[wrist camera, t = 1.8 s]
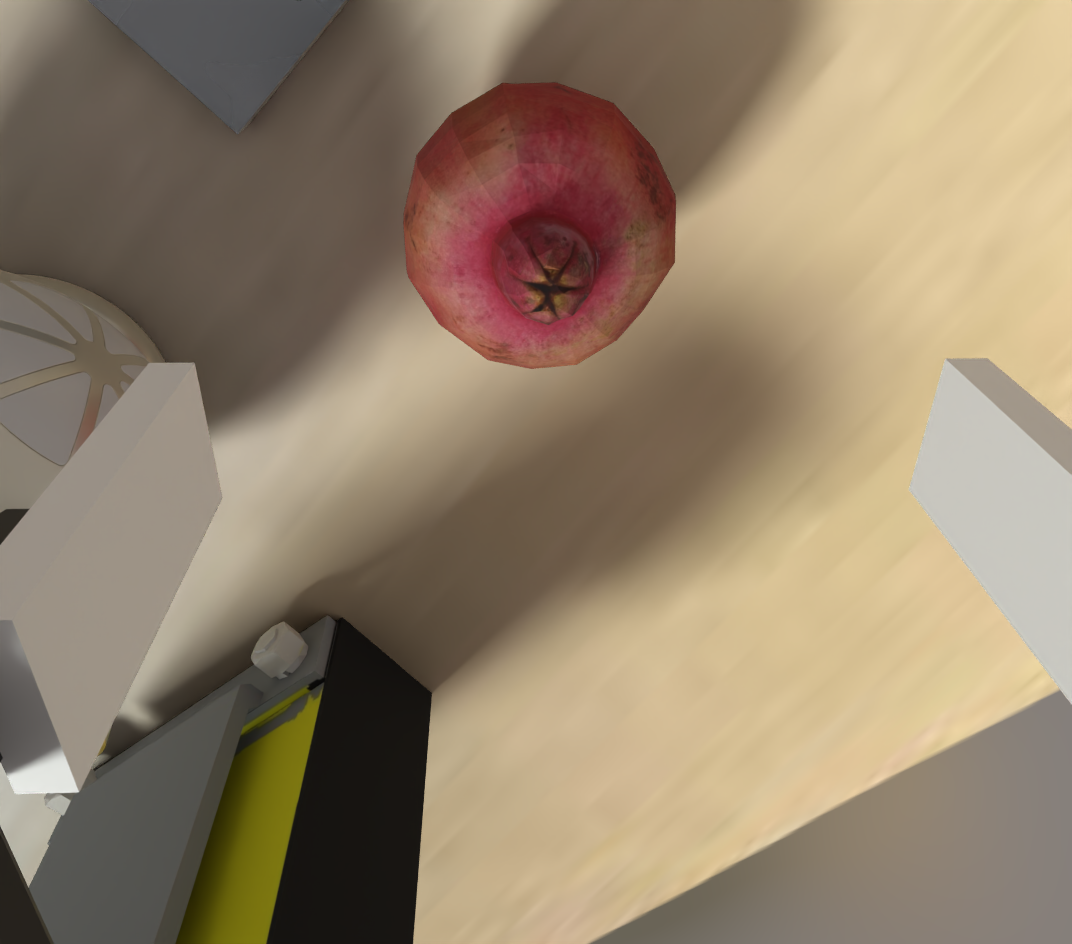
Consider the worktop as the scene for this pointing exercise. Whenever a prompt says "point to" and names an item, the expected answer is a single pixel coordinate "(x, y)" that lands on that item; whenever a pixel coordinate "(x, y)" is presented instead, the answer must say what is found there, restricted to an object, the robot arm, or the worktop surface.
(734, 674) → the worktop surface
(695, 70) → the worktop surface
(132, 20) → the grey square pegged plate
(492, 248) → the fruit
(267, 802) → the electrical component
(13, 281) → the teapot
